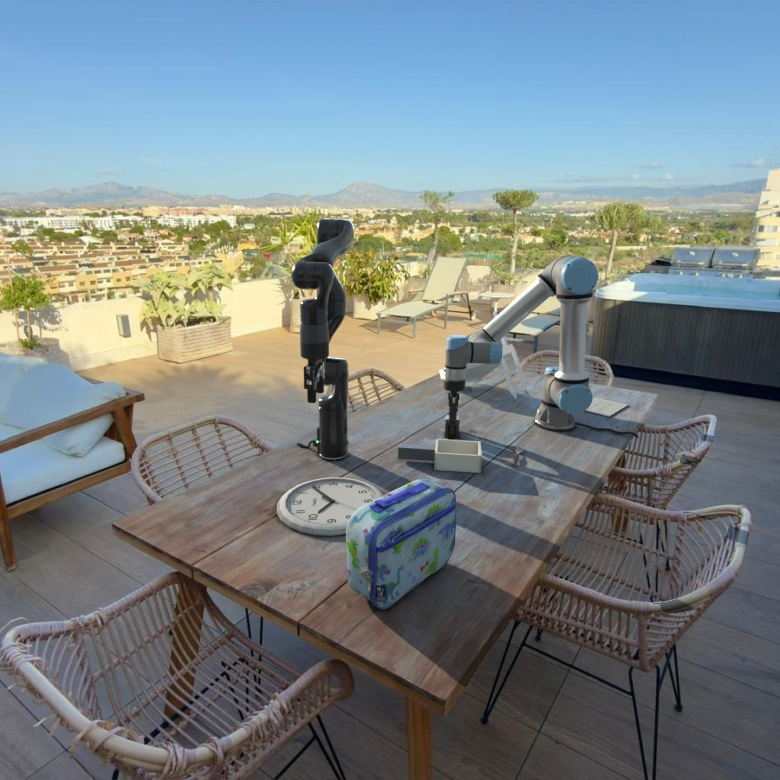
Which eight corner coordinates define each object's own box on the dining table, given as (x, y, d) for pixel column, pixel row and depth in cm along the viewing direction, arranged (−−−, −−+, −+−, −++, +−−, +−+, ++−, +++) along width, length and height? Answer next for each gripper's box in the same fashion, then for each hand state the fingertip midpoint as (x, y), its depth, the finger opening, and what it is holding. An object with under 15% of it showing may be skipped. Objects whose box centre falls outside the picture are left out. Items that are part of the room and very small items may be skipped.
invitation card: (608, 416, 214) (573, 407, 224) (608, 416, 214) (573, 408, 224) (628, 404, 229) (594, 396, 238) (628, 405, 229) (594, 397, 238)
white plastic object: (461, 429, 252) (437, 405, 227) (444, 352, 274) (420, 323, 250) (535, 404, 240) (518, 377, 215) (510, 326, 262) (492, 293, 237)
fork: (510, 465, 168) (510, 460, 168) (516, 447, 182) (517, 442, 182) (518, 467, 167) (519, 461, 167) (524, 448, 182) (524, 443, 181)
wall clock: (392, 527, 129) (268, 531, 127) (391, 533, 130) (269, 537, 127) (383, 473, 158) (282, 475, 155) (383, 478, 158) (282, 480, 156)
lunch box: (375, 622, 100) (376, 527, 94) (339, 595, 108) (338, 505, 101) (459, 565, 118) (465, 481, 112) (424, 545, 125) (427, 465, 119)
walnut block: (458, 433, 195) (459, 415, 192) (458, 438, 190) (459, 420, 188) (445, 432, 195) (445, 414, 193) (444, 437, 190) (445, 419, 188)
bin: (479, 457, 174) (480, 441, 173) (481, 473, 163) (482, 456, 161) (400, 452, 177) (400, 436, 175) (396, 467, 166) (396, 450, 164)
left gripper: (307, 333, 145) (309, 389, 150) (292, 344, 131) (295, 405, 136) (334, 334, 144) (335, 390, 149) (321, 345, 131) (323, 406, 136)
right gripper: (444, 369, 198) (442, 422, 204) (443, 388, 175) (440, 447, 181) (464, 370, 197) (461, 423, 204) (466, 389, 174) (462, 448, 180)
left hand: (316, 397), depth 143 cm, fingers open, 8 cm apart
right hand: (451, 434), depth 192 cm, fingers open, 12 cm apart
